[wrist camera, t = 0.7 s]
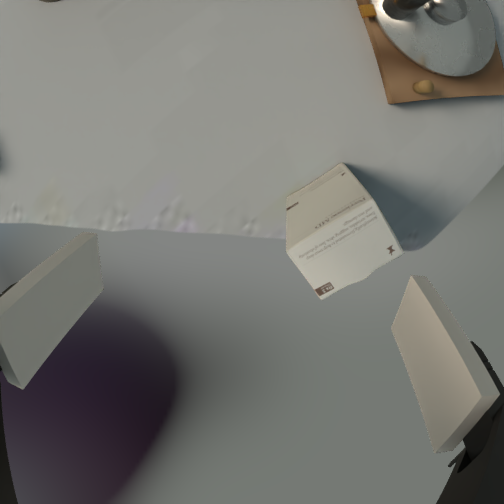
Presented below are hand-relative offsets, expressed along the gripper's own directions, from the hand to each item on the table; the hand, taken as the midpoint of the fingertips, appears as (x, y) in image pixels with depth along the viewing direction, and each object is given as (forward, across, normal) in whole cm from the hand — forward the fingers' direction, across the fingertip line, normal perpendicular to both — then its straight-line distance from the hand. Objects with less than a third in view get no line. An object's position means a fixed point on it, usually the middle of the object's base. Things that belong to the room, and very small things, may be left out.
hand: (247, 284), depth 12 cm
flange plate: (+24, +17, +24) cm, 38 cm away
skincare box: (+26, +7, -3) cm, 27 cm away
